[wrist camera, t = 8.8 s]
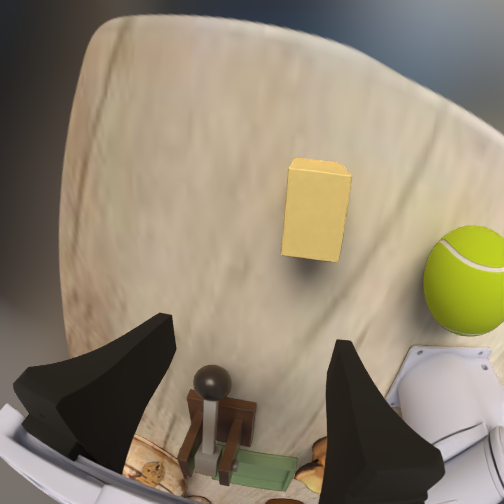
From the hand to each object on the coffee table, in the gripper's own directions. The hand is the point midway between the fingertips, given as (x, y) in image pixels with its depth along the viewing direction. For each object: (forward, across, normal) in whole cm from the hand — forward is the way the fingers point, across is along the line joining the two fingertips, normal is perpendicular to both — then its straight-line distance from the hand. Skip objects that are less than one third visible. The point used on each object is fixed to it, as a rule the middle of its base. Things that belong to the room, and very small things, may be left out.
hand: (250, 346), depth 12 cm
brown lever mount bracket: (+9, +4, +20) cm, 23 cm away
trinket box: (+10, +17, +38) cm, 43 cm away
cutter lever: (+6, +4, +16) cm, 18 cm away
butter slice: (+9, -2, -5) cm, 11 cm away
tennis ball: (+10, -13, -2) cm, 16 cm away
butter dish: (+9, 0, +32) cm, 34 cm away
